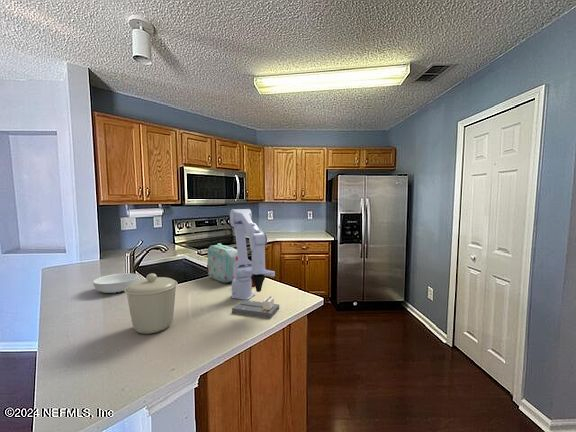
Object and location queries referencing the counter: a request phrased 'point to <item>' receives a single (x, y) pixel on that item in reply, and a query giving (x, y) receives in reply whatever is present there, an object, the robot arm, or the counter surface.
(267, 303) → the fader knob
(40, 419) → the counter surface
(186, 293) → the counter surface
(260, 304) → the fader console
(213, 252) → the lunch box
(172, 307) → the canister
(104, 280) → the serving bowl
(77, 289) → the counter surface
